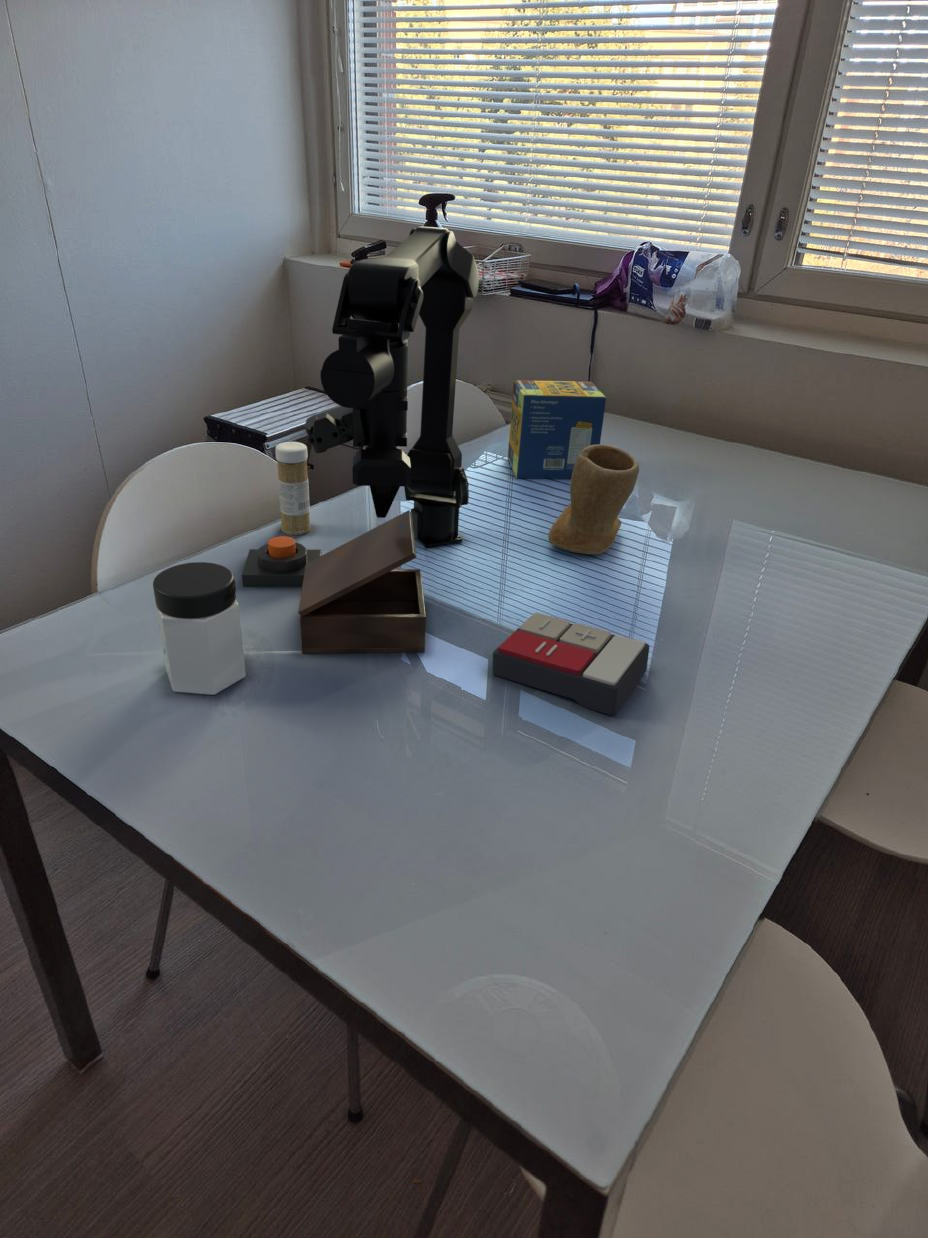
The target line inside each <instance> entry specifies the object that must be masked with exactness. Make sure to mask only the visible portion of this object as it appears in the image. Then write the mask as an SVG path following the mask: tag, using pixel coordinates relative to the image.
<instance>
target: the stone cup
mask: <svg viewBox="0 0 928 1238" xmlns="http://www.w3.org/2000/svg"><path fill="white" fill-rule="evenodd" d="M639 472H640V465H639V463H638V461H637V459H636V458H635V457H634V455H632V454H630V453H629V452H627V451H626V450H624V449H622V448H620V447H617V446H614V445H609V444H605V443H604V444H601V443H600V444H597V445H591V446H588V447H586V448H584V449H583V450H582V451H581V452H580V453H579V455H578V457H577V459H576V462H575V465H574V469H573V472H572V477H571V479H570V481H569V497H570V503H569V504H567V506H566V507H565V508H564V509H563V511H561V513H560V515H559V516H558V517H557V518H556V520H555V521H554V523H553V524H552V525H551V528H550V530H549V532H548V536H547V538H548V541H549V543H550V544H551V545H553V546H554V547H557V548H559V549H561V550H565V551H568V552H572V553H575V554H576V553H577V554H583V555H601V554H603V553H605V552H606V551H608V550H609V548H610V547H612V545H613V543H614V542H615V540H616V538H617V536H618V533H619V531H620V527H621V526H622V520H620V519H619V514H620V512H621V511H622V509H624V506H625V505H626V503H627V501H628V500H629V498H630V497H631V495H632V494H633V491H634V489H635V486H636V484H637V479H638V475H639Z"/></svg>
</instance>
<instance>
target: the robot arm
mask: <svg viewBox="0 0 928 1238" xmlns="http://www.w3.org/2000/svg"><path fill="white" fill-rule="evenodd" d="M408 235H409V236H408V237H407V238H405V239H404V240H403V241H402V242H401V243H399V244H398V245H397V246H396V247H395V248H394V249H393V250H392V251H390V252H389V253H387V255H386V256H384V257H377V258H376V257H375V258H364V259H361V260H355V262H353V263H352V264H351V265H350V267H349V268H348V271H347V272H346V273H345V275H344V276H343V280H342V284H341V288H340V289H341V290H340V291H339V298H338V301H337V306H336V309H335V310H336V311H335V313H334V314H335V315H334V319H333V324H332V328H331V332H332V333H331V334H333V335H340V336H338V349H336V350H335V351H332V352H331V353H330V354H329V355H328V356H327V357H326V358H325V360H324V361H323V363H322V366H321V370H320V373H319V374H320V382H321V386H322V388H323V392H324V393H325V395H327V397H328V398H329V400H331V401H332V402H333V403H334V404H336V405H337V407H334V408H330V409H328V410H325V411H322V412H319V413H316V414H312V415H310V416H309V417H307V418H306V420H305V423H304V429H305V432H306V435H307V442H308V444H310V445H311V447H312V448H313V451H314V454H322V453H325V452H327V451H328V450H329V449H332V448H336V447H338V446H341V445H344V444H347V443H349V442H351V441H352V447H353V448H361V449H360V450H357V451H356V452H355V455H354V456H352V484H353V485H355V486H357V487H358V486H359V487H364V486H365V487H369V490H370V494H371V499H372V503H373V508H374V512H375V516H376V518H378V519H385V518H386V517H387V516H388V513H389V511H390V509H391V507H392V505H393V504H394V503H393V502H394V500H395V498H396V496H397V495H398V492H399V490H400V488H401V487H403V488H404V489H403V490H404V496H405V497H404V498H405V501H408V502H410V501H411V502H413V507H411V508H410V512H411V514H412V521H413V531H414V539H415V540H417V541H418V542H419V543H420V544H421V545H423V547H424V548H430V547H431V548H432V547H436V546H437V547H438V546H443V545H448V544H449V545H450V544H454V543H460V542H463V540H464V538H463V536H462V535H461V534H460V533H459V523H460V522H459V521H460V508H461V507H463V506H466V505H468V504H469V500H470V499H469V497H470V491H469V489H470V488H469V487H470V483H469V481H468V477H467V474H466V471H465V469H464V467H462V464H463V463H462V460H463V453H462V451H461V449H460V447H459V445H458V443H457V442H456V439H455V437H454V435H453V432H454V431H453V430H454V413H455V399H456V385H457V371H458V370H457V367H458V355H459V354H458V353H459V341H460V340H459V339H460V329H461V327H462V326H463V324H464V323H465V322H466V319H467V318H468V317H469V315H470V314H471V312H472V310H473V308H474V299H475V298H476V297H477V296H478V291H479V286H480V285H479V284H480V273H479V270H478V266H477V262H476V260H475V256H474V255H473V253H471V252H470V250H467V248H465V247H464V246H462V244H460V243H459V242H458V241H457V240H456V236H455V233H454V232H453V231H452V230H449V229H448V228H445V227H434V226H417V227H413V228H411V229H410V232H409V234H408ZM418 318H420V320H421V322H422V324H423V325H424V328H425V333H424V334H425V337H424V356H423V371H422V373H423V375H422V393H421V394H422V395H421V411H420V413H421V414H420V433H419V436H418V438H417V439H416V441H415V443H414V444H413V446H412V447H411V448H410V449H409V451H408V452H407V453H406V452H405V451H404V450H403V449H402V447H405V448H407V447H408V433H407V432H408V428H407V423H408V411H409V399H408V369H409V368H408V359H409V354H408V353H409V342H408V340H409V338H410V335H411V333H414V332H415V328H416V325H417V323H418V322H417V321H418ZM398 447H401V448H398Z"/></svg>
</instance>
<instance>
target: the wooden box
mask: <svg viewBox="0 0 928 1238" xmlns="http://www.w3.org/2000/svg"><path fill="white" fill-rule="evenodd" d="M421 570H422V569H421V568H395V569H394V570H392V571H390V572H388V573H386V574H384V575H382V576H380V577H378V578H376V579H374V580H372V581H370V582H368V583H366V584H364V585H362V586H360V587H358V588H356V589H354V590H352V591H351V592H349V593H347V594H345V595H343V596H341V597H339V598H337V599H335V600H333V601H331V602H329V603H327V604H325V605H323V606H321V607H319V608H317V609H315V610H313V611H311V612H310V613H308V614H306V615H304V616H302V617H301V615H300V614H299V624H300V625H299V626H300V642H301V643H300V644H301V654H308V655H309V654H390V653H392V654H396V653H397V654H399V653H400V654H401V653H403V654H404V653H405V654H406V653H412V654H413V653H426V623H427V615H426V607H425V606H426V605H425V599H424V598H425V597H424V589H423V588H424V587H423V581H422V571H421Z"/></svg>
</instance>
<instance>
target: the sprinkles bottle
mask: <svg viewBox="0 0 928 1238" xmlns="http://www.w3.org/2000/svg"><path fill="white" fill-rule="evenodd" d="M274 449H275V460H276V463H277V476H278V479H277V483H278V497H279V511H280V518H281V519H280V520H281V527H280V528H281V532H283V533H285V534H286V535H289V536H290V535H291V536H302V535H306V534H307V533H309V532H310V531H311V529H312V526H311V520H310V519H311V517H310V510H311V507H310V488H309V487H310V485H309V484H310V483H309V477H308V457H309V455H308V446H307V445H306V444H304V443H302V442H298V441H285V442H281V443H278V444H277V445H276V446H275V448H274Z"/></svg>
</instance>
